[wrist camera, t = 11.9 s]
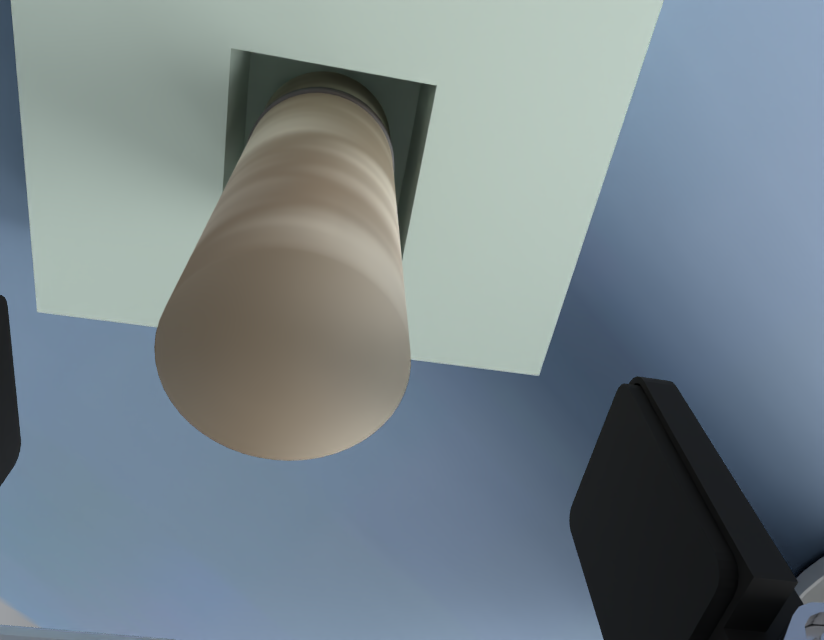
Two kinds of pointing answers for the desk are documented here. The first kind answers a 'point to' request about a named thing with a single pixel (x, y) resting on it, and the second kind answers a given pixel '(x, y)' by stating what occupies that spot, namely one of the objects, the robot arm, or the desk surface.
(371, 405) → the ash peg
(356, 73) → the peg board
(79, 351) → the desk surface
